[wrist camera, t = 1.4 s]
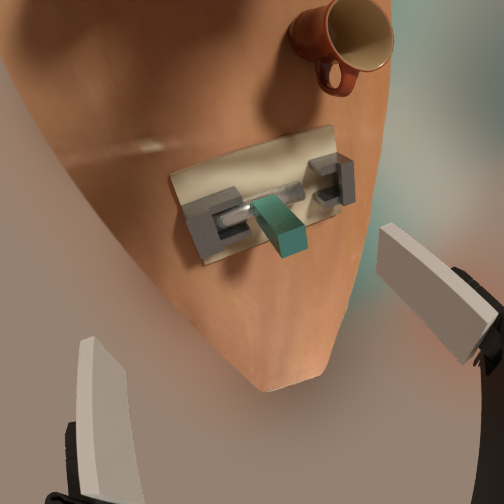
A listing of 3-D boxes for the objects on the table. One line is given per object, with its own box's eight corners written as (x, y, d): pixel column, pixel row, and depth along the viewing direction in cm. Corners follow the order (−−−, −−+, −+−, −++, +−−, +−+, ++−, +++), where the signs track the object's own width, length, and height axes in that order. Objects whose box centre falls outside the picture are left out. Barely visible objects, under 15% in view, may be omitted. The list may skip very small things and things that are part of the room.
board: (169, 173, 33) (169, 176, 32) (329, 124, 36) (333, 125, 35) (204, 261, 42) (205, 265, 41) (337, 209, 45) (341, 212, 44)
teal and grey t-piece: (184, 215, 36) (199, 265, 27) (293, 176, 38) (338, 211, 29) (192, 234, 38) (209, 287, 29) (297, 195, 39) (339, 235, 31)
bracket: (181, 205, 35) (184, 220, 32) (234, 185, 36) (243, 198, 33) (195, 242, 39) (201, 259, 35) (244, 223, 39) (254, 238, 36)
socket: (308, 160, 37) (324, 169, 34) (336, 151, 38) (353, 160, 34) (313, 199, 41) (328, 212, 38) (339, 190, 41) (355, 201, 38)
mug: (285, -1, 24) (331, -20, 16) (344, 19, 27) (398, 14, 19) (270, 84, 31) (312, 89, 23) (330, 97, 34) (382, 109, 26)
